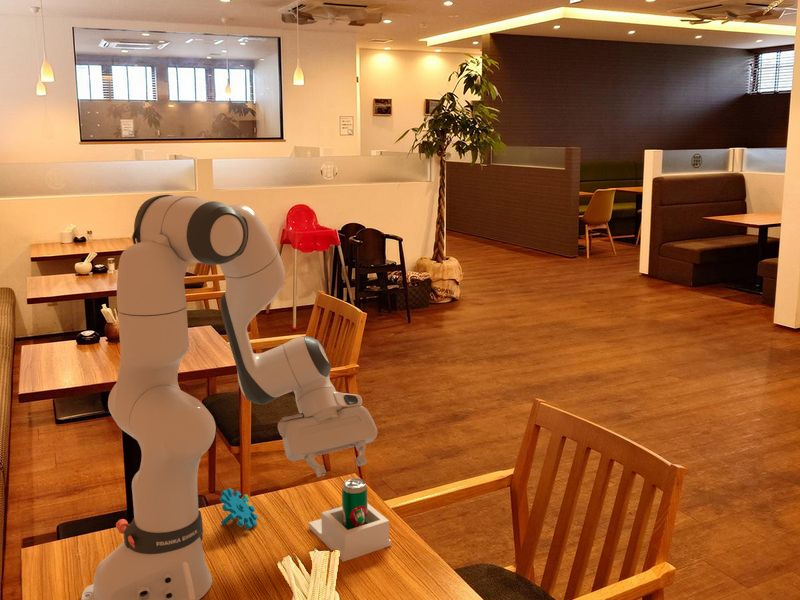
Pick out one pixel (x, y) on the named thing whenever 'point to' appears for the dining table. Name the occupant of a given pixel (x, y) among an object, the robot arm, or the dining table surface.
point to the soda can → (354, 503)
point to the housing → (352, 533)
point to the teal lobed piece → (238, 508)
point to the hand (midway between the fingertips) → (342, 469)
